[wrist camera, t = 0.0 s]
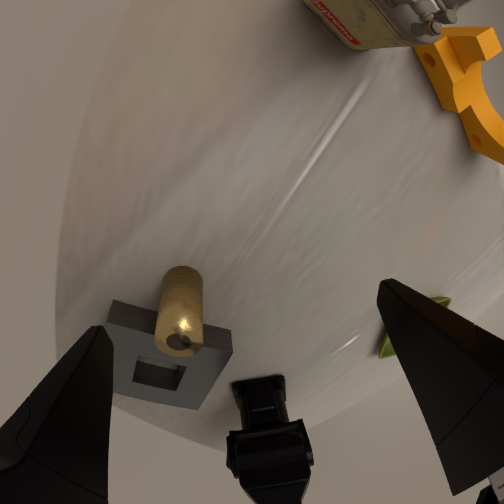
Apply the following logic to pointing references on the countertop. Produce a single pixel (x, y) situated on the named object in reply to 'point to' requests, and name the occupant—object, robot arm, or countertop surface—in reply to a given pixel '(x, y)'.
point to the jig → (159, 378)
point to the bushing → (180, 313)
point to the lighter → (383, 21)
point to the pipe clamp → (466, 83)
